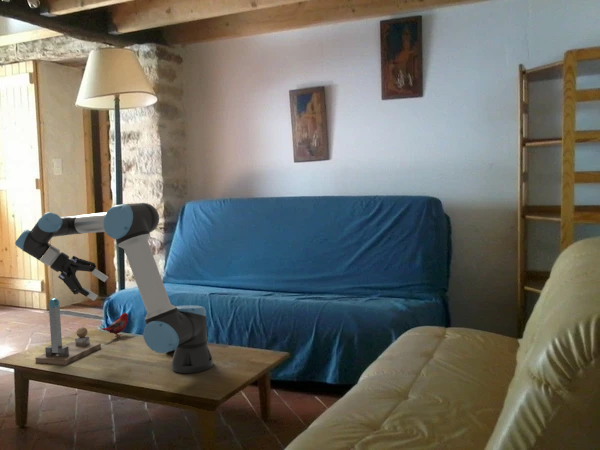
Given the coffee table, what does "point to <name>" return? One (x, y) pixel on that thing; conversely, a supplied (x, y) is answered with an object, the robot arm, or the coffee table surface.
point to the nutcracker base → (70, 350)
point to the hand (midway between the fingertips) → (101, 288)
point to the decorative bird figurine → (118, 325)
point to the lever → (55, 325)
